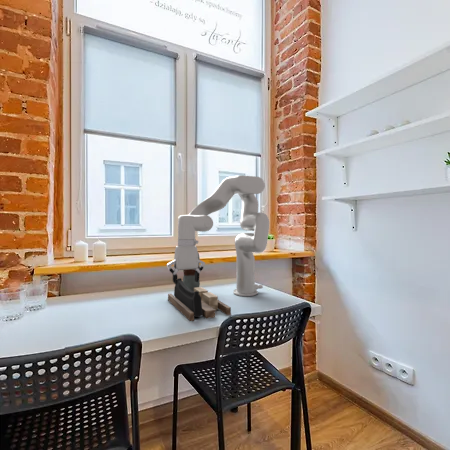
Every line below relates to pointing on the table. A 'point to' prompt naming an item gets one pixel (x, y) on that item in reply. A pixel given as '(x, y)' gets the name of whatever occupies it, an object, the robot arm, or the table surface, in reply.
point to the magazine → (188, 297)
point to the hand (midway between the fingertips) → (186, 282)
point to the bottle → (190, 278)
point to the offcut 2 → (210, 300)
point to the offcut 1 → (200, 291)
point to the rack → (206, 309)
